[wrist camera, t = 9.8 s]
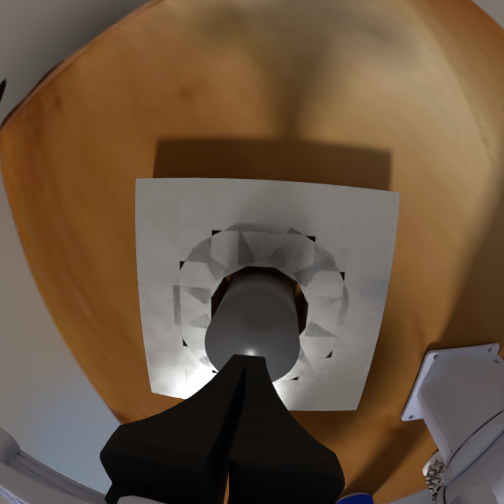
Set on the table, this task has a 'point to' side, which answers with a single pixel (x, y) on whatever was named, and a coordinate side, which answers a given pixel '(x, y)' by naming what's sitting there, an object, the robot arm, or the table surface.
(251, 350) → the grey rounded cylinder
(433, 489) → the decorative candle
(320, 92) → the table surface
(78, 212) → the table surface
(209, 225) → the grey square plate
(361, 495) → the beverage can
